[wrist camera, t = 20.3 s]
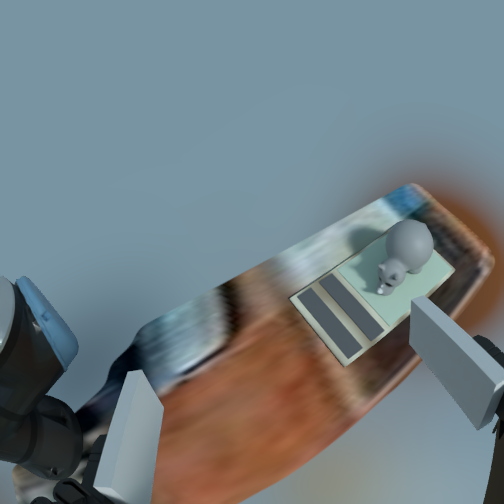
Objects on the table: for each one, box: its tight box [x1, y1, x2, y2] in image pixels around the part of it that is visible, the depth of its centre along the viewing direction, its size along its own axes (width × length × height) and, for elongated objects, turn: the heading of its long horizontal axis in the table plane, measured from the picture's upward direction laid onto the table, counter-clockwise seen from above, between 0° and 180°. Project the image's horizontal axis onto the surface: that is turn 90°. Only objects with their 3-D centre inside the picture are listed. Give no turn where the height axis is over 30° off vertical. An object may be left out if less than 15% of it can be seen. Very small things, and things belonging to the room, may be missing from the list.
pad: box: [337, 234, 452, 327], centre depth 45 cm, size 15×12×1 cm
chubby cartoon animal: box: [376, 220, 433, 296], centre depth 41 cm, size 7×12×8 cm, turn 129°
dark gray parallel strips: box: [297, 273, 385, 359], centre depth 43 cm, size 6×12×1 cm, turn 31°
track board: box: [290, 230, 455, 367], centre depth 44 cm, size 24×13×1 cm, turn 121°
